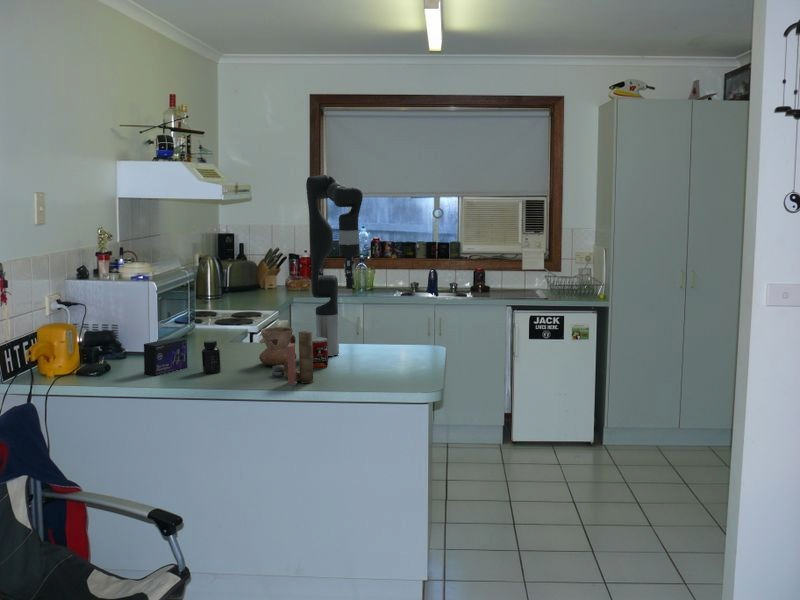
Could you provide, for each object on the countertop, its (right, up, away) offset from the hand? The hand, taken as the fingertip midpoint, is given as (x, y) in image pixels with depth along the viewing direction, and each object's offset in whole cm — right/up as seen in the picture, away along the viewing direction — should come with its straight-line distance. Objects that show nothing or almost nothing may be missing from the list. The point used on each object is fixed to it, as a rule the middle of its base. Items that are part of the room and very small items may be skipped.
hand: (350, 287), depth 326 cm
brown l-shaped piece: (-21, -33, +1) cm, 39 cm away
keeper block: (-20, -35, -6) cm, 41 cm away
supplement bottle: (-54, -33, +14) cm, 64 cm away
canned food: (-14, -31, +21) cm, 40 cm away
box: (-72, -32, +17) cm, 80 cm away
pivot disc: (-27, -33, +6) cm, 43 cm away
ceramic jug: (-30, -30, +27) cm, 50 cm away
